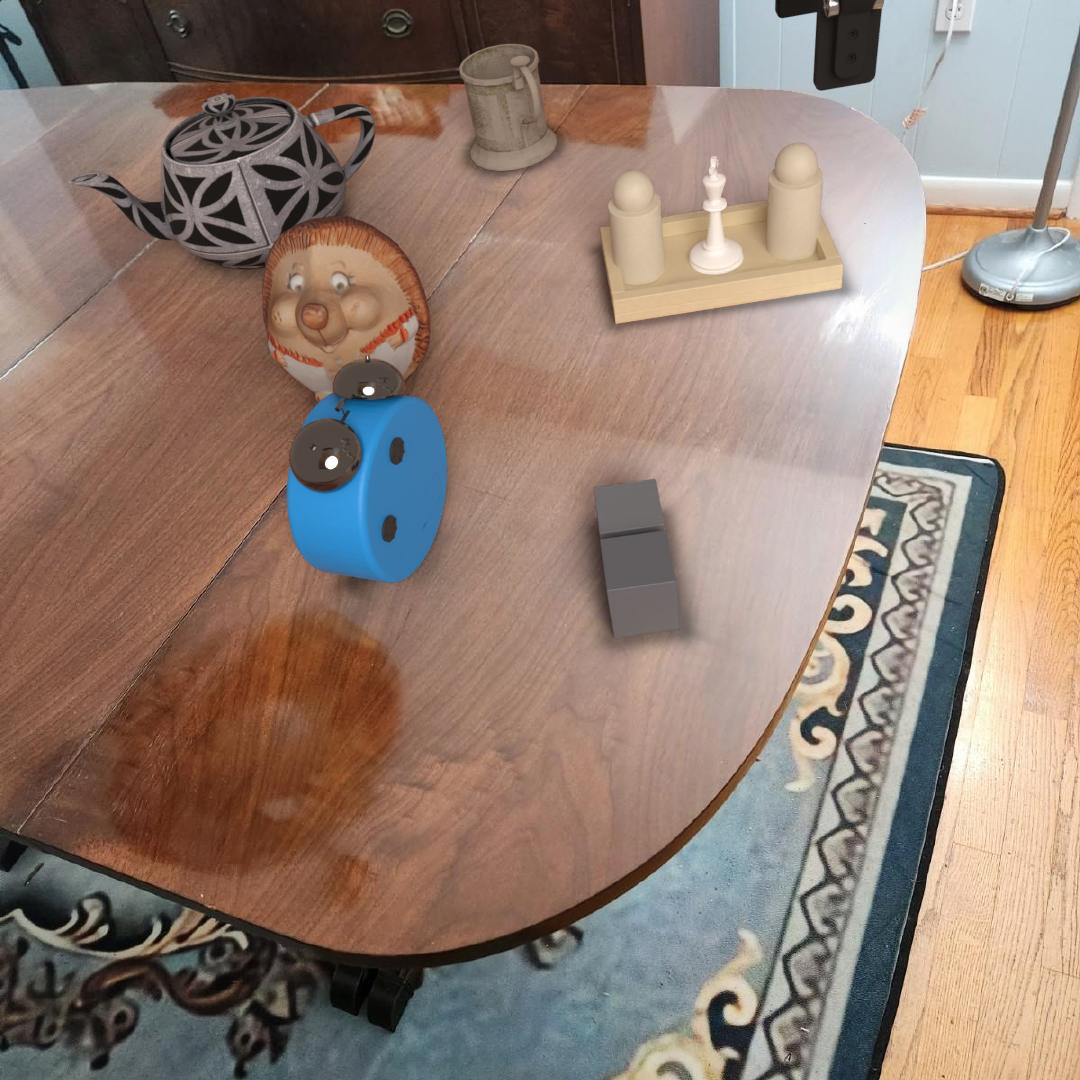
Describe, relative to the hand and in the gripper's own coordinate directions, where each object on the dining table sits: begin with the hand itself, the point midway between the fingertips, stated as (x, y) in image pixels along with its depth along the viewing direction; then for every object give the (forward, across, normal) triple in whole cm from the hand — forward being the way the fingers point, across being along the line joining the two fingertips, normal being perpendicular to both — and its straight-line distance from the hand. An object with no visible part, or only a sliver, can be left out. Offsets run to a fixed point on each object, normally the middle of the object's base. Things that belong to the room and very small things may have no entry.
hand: (821, 46), depth 58 cm
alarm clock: (+28, -8, +32) cm, 44 cm away
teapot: (+28, +40, +49) cm, 69 cm away
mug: (+28, +48, +20) cm, 59 cm away
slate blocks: (+28, -14, +14) cm, 35 cm away
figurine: (+28, +13, +36) cm, 48 cm away
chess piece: (+28, +21, +3) cm, 35 cm away
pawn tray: (+28, +21, +3) cm, 35 cm away
